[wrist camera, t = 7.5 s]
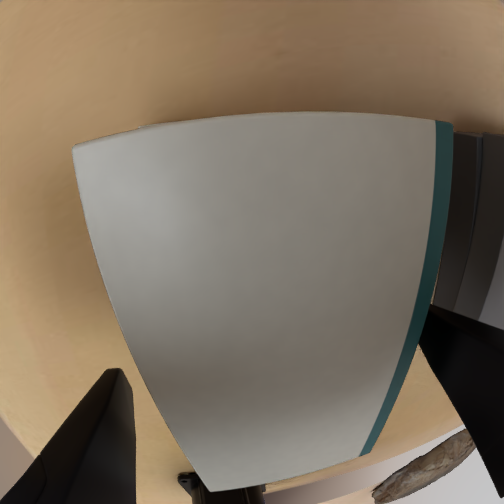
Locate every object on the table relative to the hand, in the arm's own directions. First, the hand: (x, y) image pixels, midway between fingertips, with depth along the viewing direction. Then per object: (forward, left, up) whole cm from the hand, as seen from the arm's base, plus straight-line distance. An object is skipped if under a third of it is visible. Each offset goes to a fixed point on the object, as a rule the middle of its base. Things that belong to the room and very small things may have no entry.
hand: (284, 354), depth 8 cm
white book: (0, 0, 0) cm, 0 cm away
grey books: (0, -13, -4) cm, 14 cm away
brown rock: (-39, -26, -4) cm, 47 cm away
